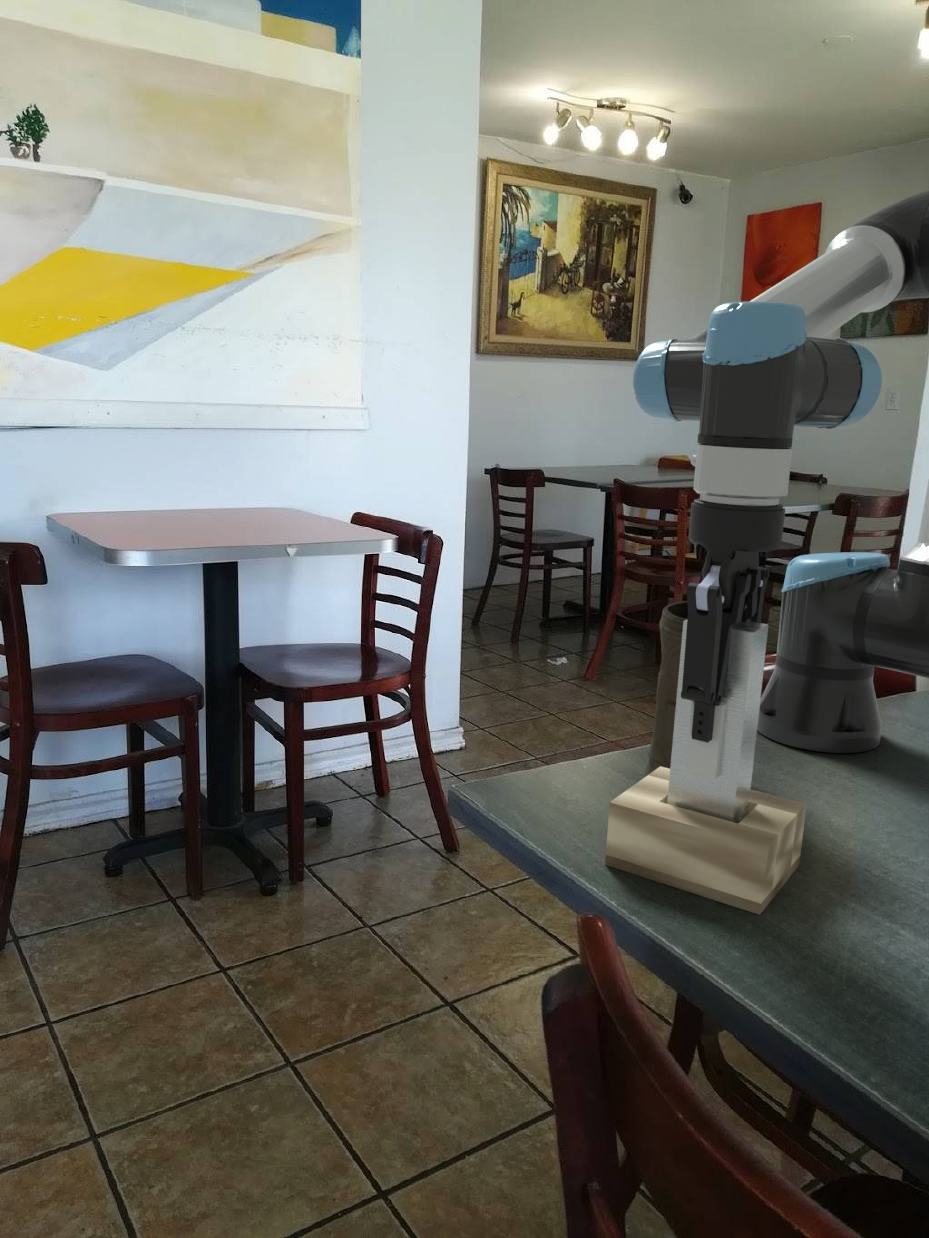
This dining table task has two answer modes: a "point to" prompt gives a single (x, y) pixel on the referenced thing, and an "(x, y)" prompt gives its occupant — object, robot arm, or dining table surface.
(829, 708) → the robot arm
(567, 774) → the dining table surface
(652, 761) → the beer stein
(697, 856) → the well block
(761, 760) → the dining table surface
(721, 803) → the tall grey pillar
